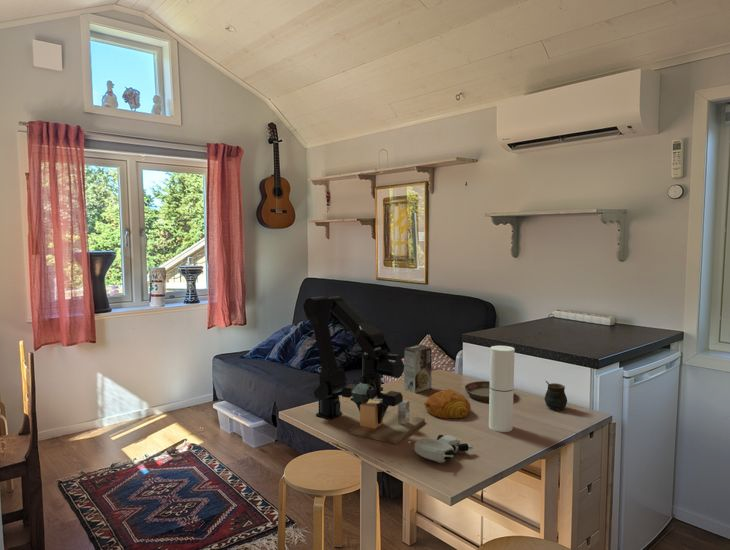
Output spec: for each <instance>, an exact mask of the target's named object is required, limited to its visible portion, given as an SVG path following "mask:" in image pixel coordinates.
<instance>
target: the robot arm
mask: <svg viewBox="0 0 730 550" xmlns="http://www.w3.org/2000/svg"><path fill="white" fill-rule="evenodd" d="M303 311H304V314H305V317H306V319H307V321H309V323H310V324H311V325H312V327H313V332H314V336H315V341H316V345H317V350H318V351H317V352H318V355H319V360H320V365H321V370H320V374H319V376H318V377H319V380H318V381H319V385H318V387H316V389H315V390H314V391H313V395H314V399H317V400H318V412H317V413H315V416H317V417H319V418H320V417H321V418H325V419H330V420H332V419H335V418H337V417H338V416H340V415H342V414H343V411H341V401H340V396H341V397H343V398H348V399H350V401H352V402H353V403H355V405H356V407H357V409H358V411H359V413H360V404H362V403H367V402H368V400H374V399H377V400H379V402H380V403H378V404H376V405H377V407H378V424H380V423H381V421H382V419H383V417H384V414H385V412H386V411H388V410H387V409H388V408H389V407H396V406H398V404H399V403H401V402H402V401H403V400H404V399H403V397H404V396H403V394H402V392H400V391H395V390H390V391H388V392H386V393H384V392H383V391H384V387H383V386H382V379H383V378H384V376H386V377H388V378H392V379H393V378H394V379H400V378H401V377H402V375H404V360H402V359H401V355H400V354H394V353H392V350H391V347H389V344H388V343H387V341H386V338H385V335H384V333H383V332H382V331H380V330H379V329H377V327H375V326H373V325H370V324H368V323H366V322H365V321H364V320H363V319H362V318H361V317H360V316H359V315H358V314H357V313H356V312H355V311H354V310H353V309H352V308H351V307H350V306H349V305H348V304H347V303H346V302H345V300H344V299H343V297H341V296H338V295H337V296H330V297H328V298H327V297H325V296H314V297H308V298H306V299H305V300H304V303H303ZM331 312H332V313H333V314H334V315H335V316H336V317H337V318H338V319H339V320H340V321H341V322H342V323H343V324H344V325H345V326H346V327H347V329H348V330H349V331H351V333H352V334H353V336H354V341H355V343H357V345H358V346H359V348H360V351H359V352H358V353H356V356H357V357H360V358H362V360H361V361H362V362H361V363H362V365H361V366H362V371H361V372H362V375H360V376H359V382H358V383H357V384H354V383H350V384H347V381H348V378H347V376H346V370H345V369H344V368H340V367H339V365H338V363H337V360H336V355H335V350H334V345H333V341H332V336H331V331H330V327H329V319H330V315H331Z"/></svg>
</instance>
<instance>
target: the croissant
mask: <svg viewBox="0 0 730 550" xmlns="http://www.w3.org/2000/svg"><path fill="white" fill-rule="evenodd" d="M423 405H424V406H425V410H426V411H427V413H429V414H431V415H432V416H434V417H439V418H441V419H449V418H450V419H460V418H461V419H462V418H466V417H467V416H469V414H470V413H471V410H472V408H471V407H472V406H471V403H470V402H469V400H468V398H466V397H465V396H464V395H463V394H461V393H459V392H457V391H455V390H453V389H450V388H449V389H442V390H440V391H437V392H435V393H433V394H431V395H429V396H428V398H427V399H426V400H425V401H424V402H423Z"/></svg>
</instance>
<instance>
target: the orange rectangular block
mask: <svg viewBox="0 0 730 550" xmlns="http://www.w3.org/2000/svg"><path fill="white" fill-rule="evenodd" d="M378 403H380V401H377V400H373V399H369V400H368V402H367V403H362V404H360V412H359V423H360V426H365V427H369V428H374V429H375V428H377V427H378V426H380V425H381V424H383V419H382V421H381V423H380V424H378V407H377V405H376V404H378Z"/></svg>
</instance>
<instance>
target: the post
mask: <svg viewBox="0 0 730 550" xmlns="http://www.w3.org/2000/svg"><path fill="white" fill-rule="evenodd" d="M397 413H398V424H401V425H407V424H408V423H409V416H410V400H407V399H403V401H402V402H401V403H399V404H398V405H397Z"/></svg>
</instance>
